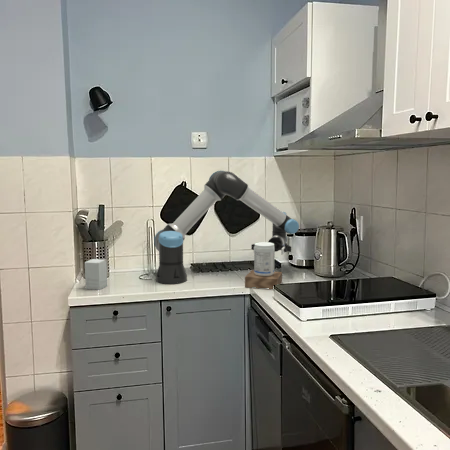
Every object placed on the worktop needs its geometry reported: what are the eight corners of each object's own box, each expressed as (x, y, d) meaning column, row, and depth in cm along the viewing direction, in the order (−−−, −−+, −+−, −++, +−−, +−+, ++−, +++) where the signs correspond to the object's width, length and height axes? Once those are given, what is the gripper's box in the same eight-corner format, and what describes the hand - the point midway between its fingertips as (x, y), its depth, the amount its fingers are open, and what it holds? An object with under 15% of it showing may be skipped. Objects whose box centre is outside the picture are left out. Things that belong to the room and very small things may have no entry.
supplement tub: (261, 270, 227) (262, 241, 225) (278, 273, 221) (278, 243, 219) (249, 274, 220) (250, 243, 217) (266, 278, 214) (267, 246, 212)
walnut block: (244, 287, 216) (245, 276, 216) (251, 279, 230) (251, 269, 229) (277, 289, 212) (277, 279, 211) (282, 282, 226) (282, 272, 225)
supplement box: (107, 286, 218) (107, 259, 216) (99, 290, 211) (98, 262, 209) (93, 284, 220) (92, 258, 218) (85, 289, 213) (84, 261, 211)
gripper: (299, 251, 244) (293, 260, 224) (252, 249, 251) (243, 257, 231) (299, 237, 243) (293, 244, 223) (253, 235, 250) (243, 242, 230)
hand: (268, 251), depth 227 cm, fingers open, 13 cm apart
